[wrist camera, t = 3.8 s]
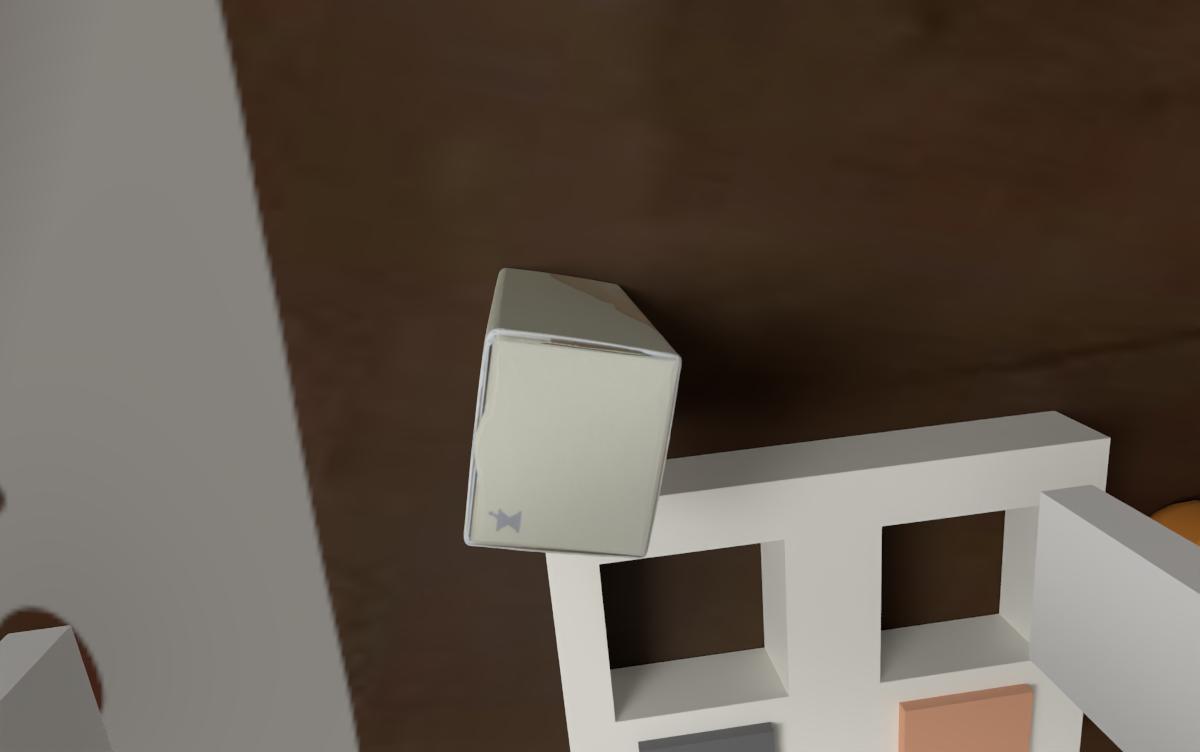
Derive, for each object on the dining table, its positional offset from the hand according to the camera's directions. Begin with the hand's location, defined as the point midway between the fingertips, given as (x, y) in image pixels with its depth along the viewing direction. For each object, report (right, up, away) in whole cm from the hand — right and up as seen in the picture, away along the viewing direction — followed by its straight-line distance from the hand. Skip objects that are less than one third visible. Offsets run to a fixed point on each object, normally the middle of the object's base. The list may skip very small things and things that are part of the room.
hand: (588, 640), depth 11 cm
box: (-2, +5, +17) cm, 18 cm away
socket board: (+8, -6, +21) cm, 23 cm away
